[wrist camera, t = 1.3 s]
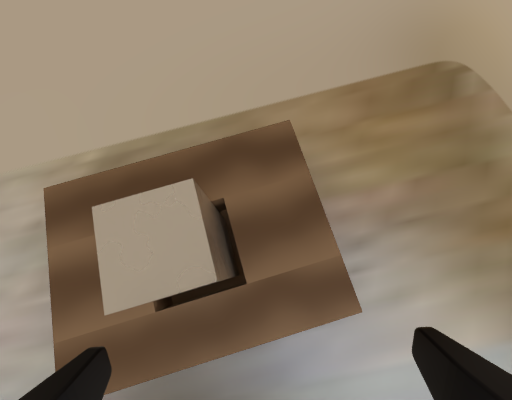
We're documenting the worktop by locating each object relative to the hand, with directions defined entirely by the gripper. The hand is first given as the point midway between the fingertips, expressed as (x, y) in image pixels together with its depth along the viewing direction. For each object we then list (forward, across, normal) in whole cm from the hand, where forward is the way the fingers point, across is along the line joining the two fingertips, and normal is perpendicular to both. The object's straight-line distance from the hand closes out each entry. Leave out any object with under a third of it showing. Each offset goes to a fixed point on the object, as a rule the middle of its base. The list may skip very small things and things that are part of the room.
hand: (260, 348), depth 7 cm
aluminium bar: (+13, +5, +4) cm, 15 cm away
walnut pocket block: (+15, +5, +5) cm, 16 cm away
